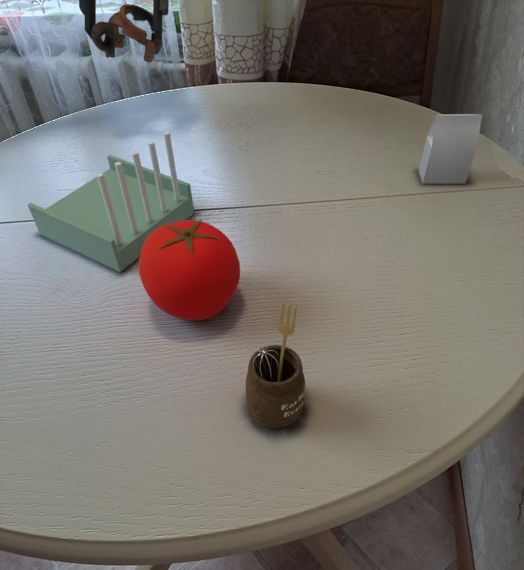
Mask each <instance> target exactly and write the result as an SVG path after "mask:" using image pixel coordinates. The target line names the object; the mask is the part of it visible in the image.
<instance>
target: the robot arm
mask: <svg viewBox="0 0 524 570" xmlns="http://www.w3.org/2000/svg"><path fill="white" fill-rule="evenodd" d="M169 1H170V0H152V3H153V5H152V6H153V8H152V15H153V31H154V33H155V35H156V37H157V39H162V40H163V33H162V30H163V16H168V15H169V11H170V10H169V5H170V4H169ZM78 7H79V11H81V13H82V15H83V16H84V31H85V32H86V34H87V35H88V37H89V38H90V39H91V40H92V36H91V31H92V28H93V26H94V25H95V24H96V23H97V12H96V10H97V0H78Z"/></svg>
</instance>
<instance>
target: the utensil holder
mask: <svg viewBox="0 0 524 570" xmlns="http://www.w3.org/2000/svg"><path fill="white" fill-rule="evenodd" d="M291 307H292V305H291V304H290V303H287V305H286V311H285V318H284V310H285V302H284V301H282V302H280V307H279V314H278V316H279V317H278V323H277V331H278V332H279V333H280V334H281V335H282V340H281V344H270V345H266V346H263V347H262V346H260V347H259V349H258V350H255V351H253V353H252V355H251V357H250V359H249V362H248V367H247V374H246V376H245V396H246V406H247V410H248V413H249V416H251V418H252V419H253V420H254V421H255V422H256V423H257V424H258V425H261V426H263V427H266V428H268V429H281V428H286V427H288V426H291V425H292V424H293V423H295V422H296V421H297V420H298V419H299V418H300V416H301V414H302V412H303V410H304V406H305V405H304V404H305V395H306V377H305V374H304V368H303V363H302V359H301V357H300V356H299V354H298V353H297V352H296V351H294V350H293V349H292V348H290V347H288V346H287V345H286V344H287V337H288V336H291V335H293V334H294V332H295V325H296V318H297V310H298V306H297V305H293V308H292V313H291ZM290 313H291V314H292V315H291V321H290ZM283 319H284V322H283ZM289 322H290V324H289Z"/></svg>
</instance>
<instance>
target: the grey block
mask: <svg viewBox="0 0 524 570" xmlns="http://www.w3.org/2000/svg"><path fill="white" fill-rule="evenodd" d="M482 120H483V113H454V114H453V113H450V114H449V113H447V114H446V113H445V114H444V113H443V114H441V113H439V114H437V113H436V114H435V115H434V118H433V121H432V123H431V126H430V128H429V131H428V133H427V136H426V139H425V143H424V147H423V152H422V155H421V160H420V163H419V168H418V173H419V176H420V180H421V183H422V184H424V185H427V184H428V185H429V184H432V185H433V184H437V185H438V184H442V185H443V184H444V185H445V184H447V185H449V184H453V185H454V184H465V185H466V183H467V180H468V177H469V175H470V171H471V168H472V165H473V163H474V159H475V155H476V153H477V149H478V145H479V137H480V130H481V125H482Z"/></svg>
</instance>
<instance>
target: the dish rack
mask: <svg viewBox="0 0 524 570" xmlns="http://www.w3.org/2000/svg"><path fill="white" fill-rule="evenodd" d="M163 138H164V143H165V145H164V146H165V150H166V156H167V162H168V167H169V172H170V175H167V174H164V173H161V170H160V169H161V168H160V163H159V160H158V153H157V148H156V143H155V141H153V140H152V141H151V140H150V141H148V143H147V145H148V149H149V154H150V155H149V156H150V159H151V166H152V169H150V168H147V167H144V166H142V163H141V158H140V154H139V152H138V151H137V150H135V151H132V152H131V156H132V160H133V162H131V161H128V160H125V159H122V158H120V157H117V156H114V155H111V154H109V155H107V156H106V159H107V162H108V165H109V168H108V169H107V170H105V171H103V172H99V173H97V174H96V177H94V178H92V179H91V180H89V181H88V182H86V183H83V185H81V186H80V187H78V188H76V189H74V190H73V191H72V192H70V193H69V194H67V195H65V196H63V197H62V198H61V199H59V200H57V201H56V202H54V203H53V204H51V205H49V206H47V207H46V208H44V207H41V206H39V205H37V204H35V203H33V202H29V203H27V207H28V210H29V212H30V214H31V217H32V219H33V221H34V224H35V226H36V228H37V231H38V233H39V235H40V236H43V237H45V238H47V239H49V240H51V241H53V242H56V243H57V244H60V245H61V246H64V247H66V248H68V249H70V250H72V251H74V252H76V253H78V254H81V255H83V256H86V257H87V258H89V259H90V260H93V261H96V262H98V263H99V264H102V265H103V266H106V267H108V268H110V269H112V270H114V271H116V272H119V273H121V272H123V271H124V270H125V269H126V268H128V267H129V266H130V265H131V264H133V263H134V262H136V261H137V260H139V259H140V255H141V251H142V247H143V245H144V243H145V241H146V239H147V238H148V236H149V235H150V234H151V233H152V232H153V231H154V230H155V229H157V228H159V227H161V226H164V225H166V224H170V223H174V222H178V221H184V220H189V218H190V217H192V216H193V215H194V214H195V210H194V209H195V207H194V202H193V195H192V188H191V183H189V182H186V181H185V180H181V179H178V176H177V169H176V162H175V157H174V151H173V144H172V138H171V133H170V132H169V131H164V132H163Z"/></svg>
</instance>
